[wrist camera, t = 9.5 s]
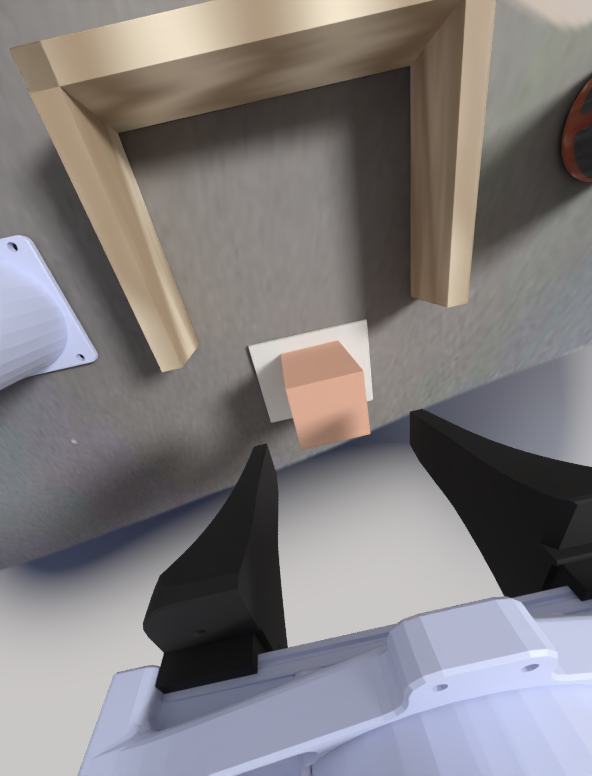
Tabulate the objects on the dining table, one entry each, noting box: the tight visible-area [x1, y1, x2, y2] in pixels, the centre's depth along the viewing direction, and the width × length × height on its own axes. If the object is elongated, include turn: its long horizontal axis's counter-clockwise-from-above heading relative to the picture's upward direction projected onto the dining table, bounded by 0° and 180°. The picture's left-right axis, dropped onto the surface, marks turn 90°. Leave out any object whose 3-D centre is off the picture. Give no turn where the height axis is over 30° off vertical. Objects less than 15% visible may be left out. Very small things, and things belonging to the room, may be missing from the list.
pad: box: [249, 319, 373, 423], centre depth 22 cm, size 9×7×1 cm
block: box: [281, 340, 370, 450], centre depth 19 cm, size 4×4×6 cm
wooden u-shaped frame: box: [8, 0, 496, 372], centre depth 15 cm, size 18×13×4 cm
